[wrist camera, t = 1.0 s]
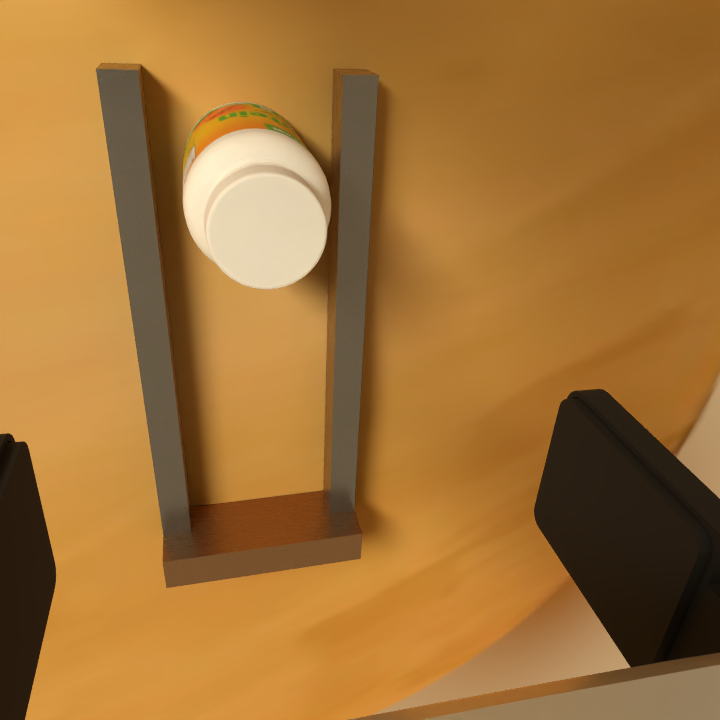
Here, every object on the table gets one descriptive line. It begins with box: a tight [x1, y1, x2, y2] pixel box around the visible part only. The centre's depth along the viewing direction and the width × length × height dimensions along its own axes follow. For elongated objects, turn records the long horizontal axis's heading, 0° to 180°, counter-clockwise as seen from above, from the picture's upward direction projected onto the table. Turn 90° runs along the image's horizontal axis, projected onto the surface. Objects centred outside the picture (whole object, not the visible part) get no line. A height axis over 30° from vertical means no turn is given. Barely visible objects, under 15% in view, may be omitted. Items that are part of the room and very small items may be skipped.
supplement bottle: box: [183, 102, 331, 289], centre depth 25 cm, size 5×5×10 cm
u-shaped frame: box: [96, 63, 379, 588], centre depth 32 cm, size 26×11×4 cm, turn 177°
